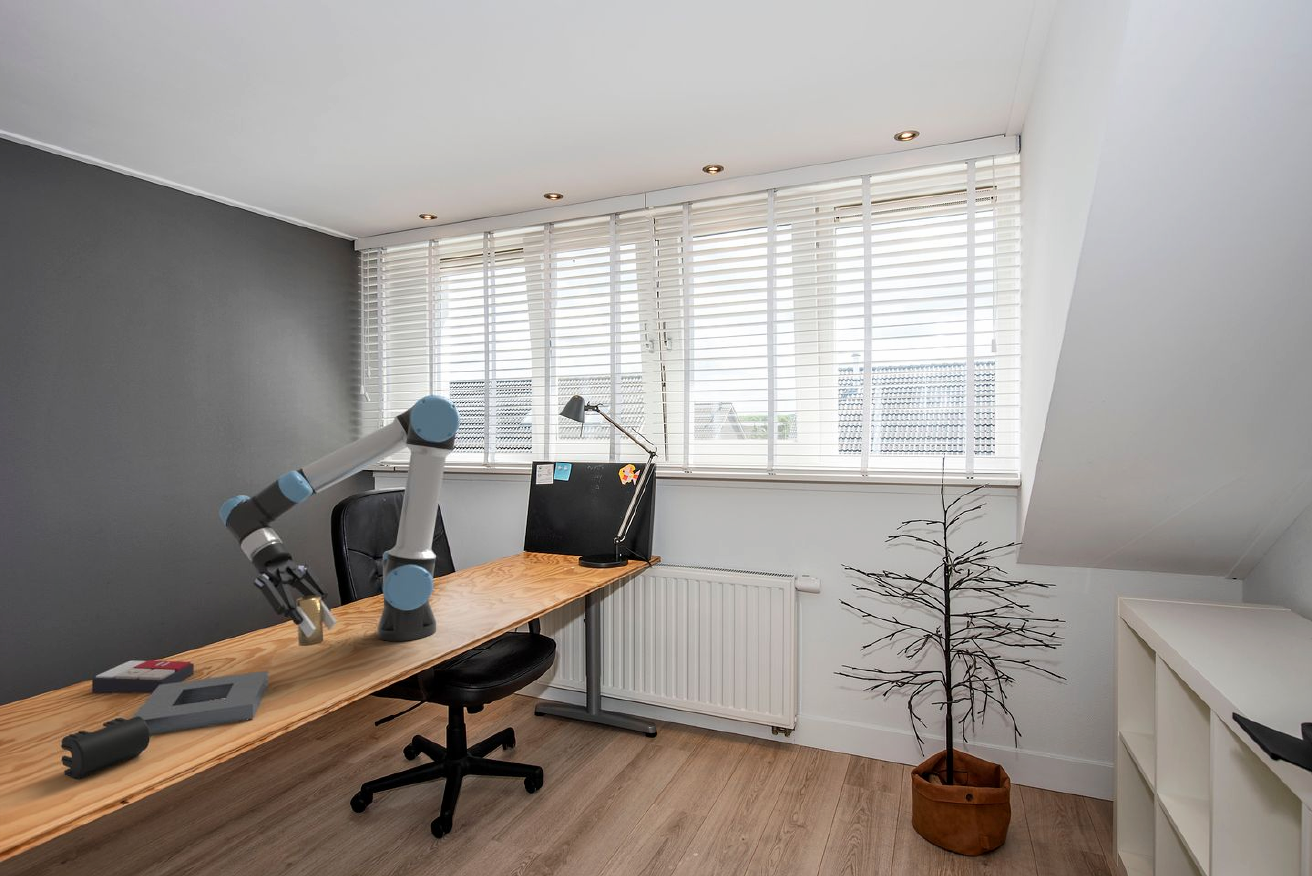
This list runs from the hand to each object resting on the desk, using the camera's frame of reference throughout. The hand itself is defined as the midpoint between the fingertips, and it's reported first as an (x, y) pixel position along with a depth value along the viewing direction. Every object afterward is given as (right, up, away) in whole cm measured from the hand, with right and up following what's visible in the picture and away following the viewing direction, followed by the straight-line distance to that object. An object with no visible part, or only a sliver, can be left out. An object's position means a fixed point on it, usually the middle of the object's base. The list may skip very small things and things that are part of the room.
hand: (322, 629), depth 154 cm
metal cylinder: (-3, -3, +2) cm, 5 cm away
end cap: (-18, -13, -38) cm, 44 cm away
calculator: (-40, -13, 0) cm, 42 cm away
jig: (-17, -12, -15) cm, 25 cm away
